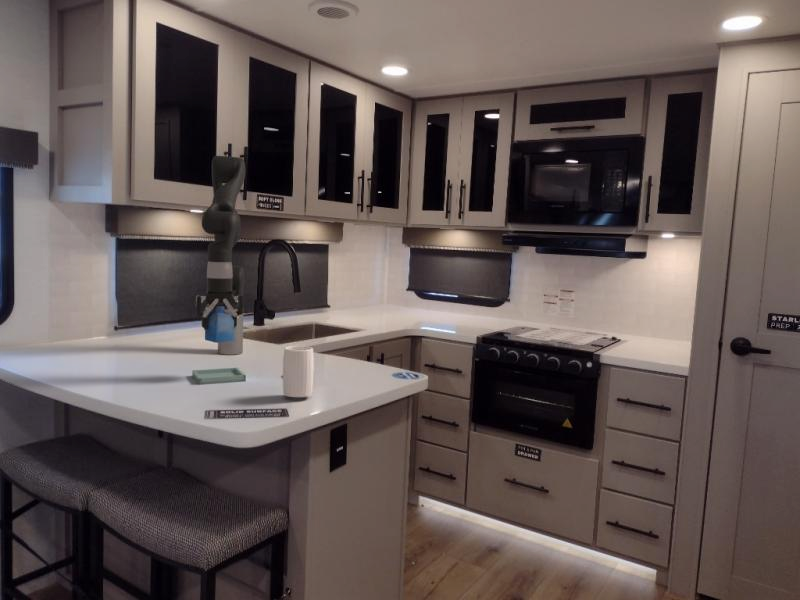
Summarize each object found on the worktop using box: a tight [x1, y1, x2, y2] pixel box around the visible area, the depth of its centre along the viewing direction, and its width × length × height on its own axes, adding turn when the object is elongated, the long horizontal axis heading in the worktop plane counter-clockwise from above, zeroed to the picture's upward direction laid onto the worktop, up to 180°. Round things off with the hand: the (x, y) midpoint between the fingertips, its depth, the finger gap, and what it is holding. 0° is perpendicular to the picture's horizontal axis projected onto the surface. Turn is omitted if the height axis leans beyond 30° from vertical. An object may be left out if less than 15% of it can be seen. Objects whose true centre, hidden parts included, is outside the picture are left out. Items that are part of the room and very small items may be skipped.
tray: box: [191, 367, 247, 386], centre depth 187 cm, size 12×14×2 cm
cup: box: [282, 345, 315, 398], centre depth 167 cm, size 8×8×14 cm
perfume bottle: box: [204, 302, 234, 344], centre depth 186 cm, size 6×6×12 cm
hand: (219, 328), depth 186 cm, fingers closed on perfume bottle, 8 cm apart
